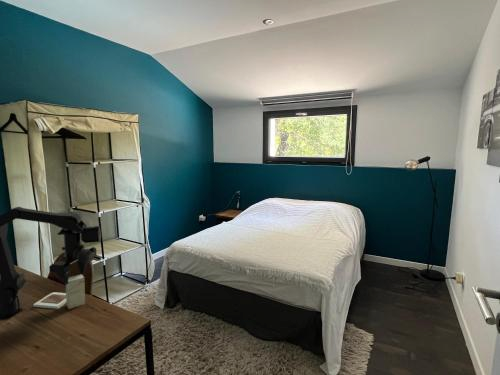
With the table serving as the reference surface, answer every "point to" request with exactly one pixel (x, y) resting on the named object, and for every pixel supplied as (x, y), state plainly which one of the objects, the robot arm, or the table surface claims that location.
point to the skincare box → (75, 291)
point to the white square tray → (52, 301)
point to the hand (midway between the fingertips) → (74, 279)
